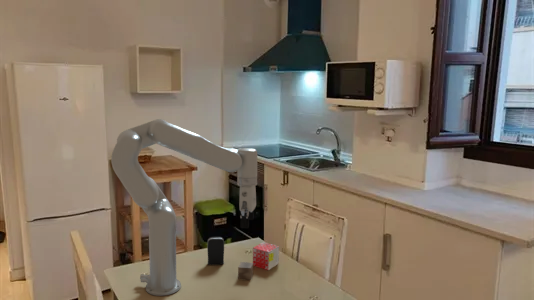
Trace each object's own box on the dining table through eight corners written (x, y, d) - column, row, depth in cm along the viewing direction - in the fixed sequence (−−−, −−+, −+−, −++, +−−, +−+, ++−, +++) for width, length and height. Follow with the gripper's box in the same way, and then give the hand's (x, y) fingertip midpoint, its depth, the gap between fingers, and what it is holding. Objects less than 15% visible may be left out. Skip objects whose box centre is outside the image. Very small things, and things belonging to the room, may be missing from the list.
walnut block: (238, 279, 166) (238, 267, 165) (240, 273, 171) (240, 261, 170) (250, 280, 165) (250, 268, 164) (253, 274, 170) (253, 263, 169)
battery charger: (223, 260, 182) (223, 235, 180) (224, 264, 178) (224, 238, 177) (207, 261, 181) (207, 236, 179) (207, 265, 177) (207, 239, 175)
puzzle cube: (268, 270, 174) (268, 252, 173) (252, 265, 178) (252, 247, 177) (278, 263, 181) (279, 246, 180) (263, 259, 185) (263, 242, 184)
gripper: (252, 186, 153) (252, 232, 155) (260, 176, 170) (260, 217, 172) (232, 185, 154) (232, 230, 157) (242, 175, 171) (242, 216, 173)
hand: (247, 223), depth 164 cm, fingers open, 9 cm apart
